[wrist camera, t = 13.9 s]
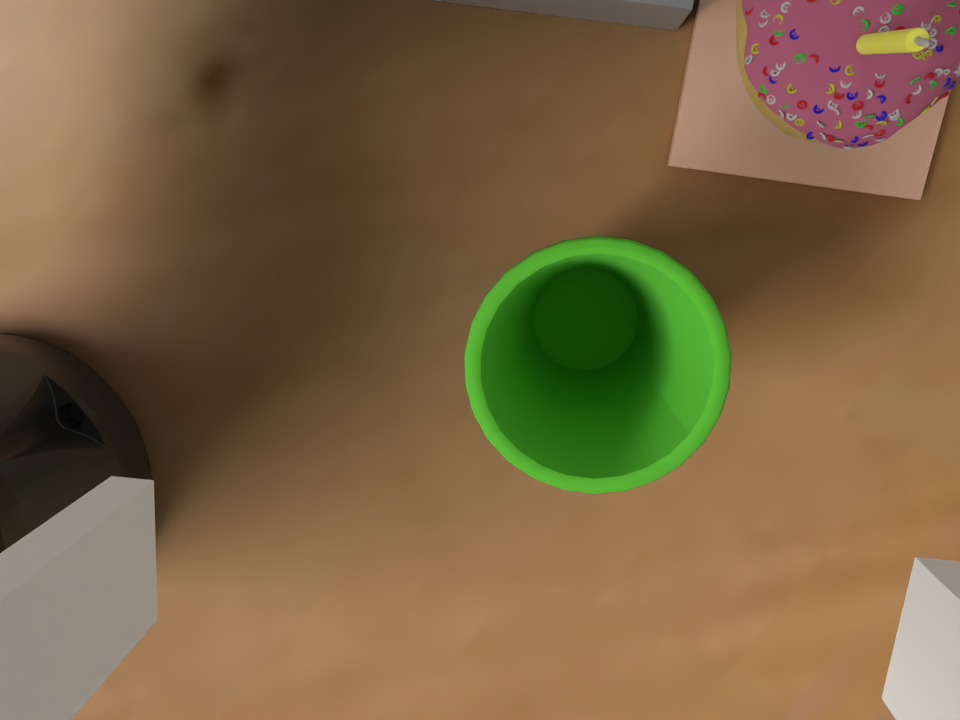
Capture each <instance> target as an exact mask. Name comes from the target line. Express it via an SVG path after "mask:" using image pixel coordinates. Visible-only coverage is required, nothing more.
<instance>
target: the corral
mask: <svg viewBox="0 0 960 720" xmlns="http://www.w3.org/2000/svg"><path fill="white" fill-rule="evenodd" d="M433 1H441V2H449V3H457V4H465V5H473V6H481V7H489V8H497V9H505V10H513V11H521V12H529V13H537V14H545V15H553V16H561V17H569V18H577V19H585V20H593V21H601V22H609V23H617V24H625V25H633V26H641V27H649V28H657V29H665V30H673V31H677V29H678V28H679V27H680V25H681V24H682V23H683V21H684V20H685V18H686V17H687V16H688V14H689V13H690V12H691V10H692V8H693V2H694V0H433Z"/></svg>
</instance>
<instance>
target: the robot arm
mask: <svg viewBox="0 0 960 720" xmlns="http://www.w3.org/2000/svg"><path fill="white" fill-rule="evenodd" d="M157 619H158V613H157V577H156V541H155V505H154V480H150V474H149V467H148V461H147V457H146V453H145V449H144V446H143V443H142V440H141V438H140V435H139V433H138V430H137V428H136V426H135V424H134V422H133V420H132V418H131V417H130V415H129V413H128V412H127V410H126V408H125V407H124V405H123V404H122V402H121V401H120V400H119V398H118V397H117V396H116V395H115V393H114V392H113V391H112V390H111V389H110V387H109V386H108V385H107V384H106V383H105V382H104V381H103V380H102V379H101V378H100V377H99V376H98V375H97V374H95V373H94V372H93V371H92V370H91V369H89V368H88V367H87V366H86V365H84V364H83V363H81V362H80V361H79V360H77V359H76V358H74V357H72V356H71V355H69V354H68V353H66V352H64V351H62V350H60V349H58V348H56V347H54V346H51V345H49V344H46V343H44V342H41V341H38V340H35V339H31V338H27V337H22V336H17V335H9V334H0V720H71V719H72V718H73V717H74V716H75V715H76V714H77V712H78V711H79V710H80V709H81V708H82V707H83V705H84V704H85V703H86V702H87V701H88V700H89V698H90V697H91V696H92V695H93V694H94V693H95V691H96V690H97V689H98V688H99V687H100V686H101V684H102V683H103V682H104V681H105V680H106V679H107V678H108V676H109V675H110V674H111V673H112V672H113V671H114V669H115V668H116V667H117V666H118V665H119V664H120V662H121V661H122V660H123V659H124V658H125V657H126V655H127V654H128V653H129V652H130V651H131V650H132V648H133V647H134V646H135V645H136V644H137V643H138V641H139V640H140V639H141V638H142V637H143V636H144V634H145V633H146V632H147V631H148V630H149V629H150V627H151V626H152V625H153V624H154V623H155V622H156V620H157ZM882 700H883V701H884V703H885V704H886V706H887V707H888V709H889V710H890V712H891V713H892V714H893V716H894V717H895V719H896V720H960V561H950V560H940V559H930V558H920V557H915V560H914V564H913V568H912V572H911V576H910V581H909V585H908V589H907V593H906V598H905V602H904V606H903V610H902V614H901V619H900V623H899V627H898V631H897V636H896V640H895V644H894V648H893V652H892V657H891V661H890V665H889V669H888V674H887V678H886V682H885V686H884V690H883V695H882Z"/></svg>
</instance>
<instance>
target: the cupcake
mask: <svg viewBox="0 0 960 720" xmlns="http://www.w3.org/2000/svg"><path fill="white" fill-rule="evenodd" d="M736 46H737V56H738V63H739V69H740V74H741V77H742V80H743V83H744V86H745V89H746V91H747V93H748V95H749V97H750V99H751V101H752V103H753V104H754V106H755V107H756V108H757V110H758V111H759V112H760V113H761V114H762V115H763V116H765V117H766V118H767V119H768V120H769V121H771V122H772V123H773V124H774V125H775V126H776V127H778V128H779V129H780V130H781V131H782V132H784V133H785V134H787V135H789V136H792V137H795V138H798V139H802V140H806V141H810V142H815V143H823V144H827V145H830V146H832V147H836V148H841V149H853V148H861V147H866V146H871V145H874V144H877V143H880V142H882V141H884V140H886V139H888V138H889V137H891V136H892V135H893V134H895V133H896V132H897V131H899V130H900V129H901V128H903V127H904V126H905V125H907V124H908V123H910V122H911V121H912V120H914V119H915V118H917V117H918V116H920V115H921V114H924V113H925V112H926V111H927V110H928V109H929V108H931V107H932V106H933V105H935V104H936V103H937V102H938V101H940V100H941V99H942V98H945V97H947V96H948V95H949V90H950V89H951V88H952V87H953V86H954V84H955V82H956V80H957V79H958V77H959V76H960V0H737V5H736Z"/></svg>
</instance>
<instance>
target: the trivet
mask: <svg viewBox="0 0 960 720" xmlns="http://www.w3.org/2000/svg"><path fill="white" fill-rule="evenodd" d="M736 5H737V0H699V1H698V6H697V11H696V17H695V22H694V27H693V32H692V38H691V43H690V48H689V53H688V59H687V64H686V69H685V74H684V80H683V85H682V90H681V95H680V101H679V106H678V111H677V116H676V121H675V127H674V132H673V137H672V142H671V148H670V153H669V158H668V163H667V166H671V167H678V168H685V169H693V170H700V171H707V172H714V173H722V174H729V175H736V176H744V177H751V178H758V179H765V180H773V181H780V182H787V183H794V184H802V185H809V186H816V187H823V188H831V189H838V190H845V191H852V192H860V193H867V194H874V195H881V196H889V197H896V198H903V199H910V200H921V196H922V193H923V189H924V185H925V182H926V178H927V174H928V171H929V167H930V163H931V160H932V156H933V152H934V149H935V145H936V141H937V138H938V134H939V130H940V127H941V123H942V119H943V116H944V112H945V108H946V105H947V101H948V97H949V95H948V96H947V97H945V98H942V99H941V100H940V101H938V102H937V103H936V104H935V105H933V106H932V107H931V108H929V109H928V110H927V111H926V112H925V113H924V114H921V115H920V116H918V117H917V118H915V119H914V120H912V121H911V122H910V123H908V124H907V125H905V126H904V127H903V128H901V129H900V130H899V131H897V132H896V133H895V134H893V135H892V136H891V137H889V138H888V139H886V140H884V141H882V142H880V143H877V144H874V145H871V146H866V147H861V148H853V149H841V148H836V147H832V146H830V145H827V144H823V143H815V142H810V141H806V140H802V139H798V138H795V137H792V136H789V135H787V134H785V133H784V132H782V131H781V130H780V129H779V128H778V127H776V126H775V125H774V124H773V123H772V122H771V121H769V120H768V119H767V118H766V117H765V116H763V115H762V114H761V113H760V112H759V111H758V110H757V108H756V107H755V106H754V104H753V103H752V101H751V99H750V97H749V95H748V93H747V91H746V89H745V86H744V83H743V80H742V77H741V74H740V69H739V63H738V56H737V46H736ZM950 90H951V89H950ZM950 90H949V93H950Z"/></svg>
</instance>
